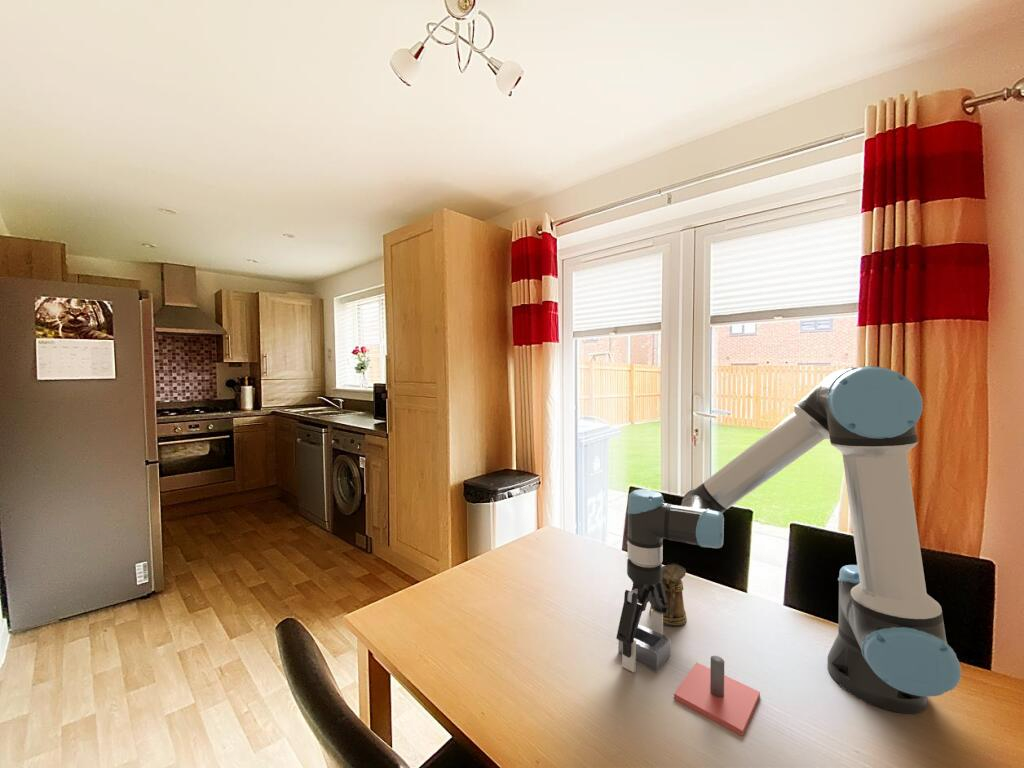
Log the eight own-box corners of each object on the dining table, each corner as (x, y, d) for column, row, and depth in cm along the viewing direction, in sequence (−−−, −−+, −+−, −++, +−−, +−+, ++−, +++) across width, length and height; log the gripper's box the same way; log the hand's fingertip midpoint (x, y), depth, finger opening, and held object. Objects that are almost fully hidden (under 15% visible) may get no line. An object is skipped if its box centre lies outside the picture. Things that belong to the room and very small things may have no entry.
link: (670, 655, 91) (670, 638, 91) (656, 672, 86) (656, 653, 86) (633, 637, 98) (633, 621, 98) (618, 652, 93) (618, 635, 92)
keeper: (759, 696, 80) (760, 659, 80) (742, 736, 71) (743, 694, 71) (696, 666, 88) (696, 632, 88) (674, 698, 79) (674, 660, 79)
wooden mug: (653, 635, 99) (654, 561, 98) (647, 604, 112) (648, 539, 111) (693, 640, 97) (694, 565, 96) (682, 608, 110) (683, 542, 109)
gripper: (653, 539, 103) (651, 621, 104) (600, 574, 85) (599, 673, 86) (682, 548, 98) (681, 634, 98) (633, 587, 80) (632, 693, 80)
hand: (643, 653), depth 92 cm, fingers open, 13 cm apart
